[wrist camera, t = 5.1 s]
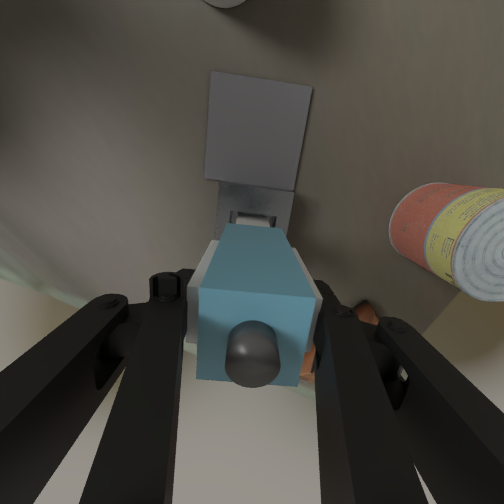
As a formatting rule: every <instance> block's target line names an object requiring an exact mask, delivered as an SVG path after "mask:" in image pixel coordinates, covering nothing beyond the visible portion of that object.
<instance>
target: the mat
mask: <svg viewBox="0 0 504 504" xmlns="http://www.w3.org/2000/svg"><path fill="white" fill-rule="evenodd" d="M312 88H313V87H311V86H305V85H298V84H292V83H286V82H280V81H273V80H267V79H261V78H254V77H248V76H242V75H236V74H229V73H223V72H217V71H211V74H210V89H209V105H208V120H207V136H206V151H205V166H204V178H206V179H213V180H220V181H228V182H235V183H242V184H250V185H257V186H264V187H272V188H279V189H286V190H294V185H295V180H296V175H297V169H298V164H299V158H300V153H301V147H302V142H303V137H304V131H305V126H306V120H307V115H308V109H309V104H310V98H311V93H312Z"/></svg>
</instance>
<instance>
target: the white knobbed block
mask: <svg viewBox="0 0 504 504" xmlns="http://www.w3.org/2000/svg"><path fill="white" fill-rule="evenodd" d="M236 224H242V225H253V226H263V227H270V225H269V222H268V219H267V217H261V216H253V215H246V214H238V216H237V220H236Z"/></svg>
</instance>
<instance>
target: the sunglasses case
mask: <svg viewBox="0 0 504 504" xmlns="http://www.w3.org/2000/svg"><path fill="white" fill-rule="evenodd" d="M352 310H353V311H355V312H356V314H357V315H358V317H359V320H360V321H363V322H367V323H371V324H374V325H377V324H378V321H379V319H380V318H379V316H378V315H377V314H376V313H375V312H374V310H373V309H372V307H371V306H370V304H369V303H368V301H367V300H365V301H362V302H361V303H359V304H358V305H357V306H356V307H354V308H353V309H352ZM315 351H316V348H315V345H314V342H313V345H312V349H311V352H305V354H304V358H303V363H302V368H301V372H300V377H299V378H300V379H304V380H307V381H308V382H309V383H310V382H315V375H314V372H313V373H311V368H312V364H313V360H314V355H315Z"/></svg>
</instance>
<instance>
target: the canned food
mask: <svg viewBox="0 0 504 504" xmlns="http://www.w3.org/2000/svg"><path fill="white" fill-rule="evenodd" d="M389 238H390V242H391V244H392V246H393V248H394V249H395V250H396V251H397V252H398V253H399V254H400V255H402V256H403V257H405V258H408V259H410V260H411V261H413V262H415V263H417V264H418V265H420V266H422V267H423V268H425V269H427V270H428V271H430V272H432V273H434V274H435V275H437V276H439V277H440V278H442V279H444V280H445V281H447V282H449V283H451V284H452V285H454V286H456V287H457V288H459V289H461V290H462V291H463V292H465V293H466V294H467V295H469V296H471V297H473V298H475V299H478V300H481V301H486V302H502V301H504V189H499V188H488V187H477V186H466V185H456V184H449V183H442V182H435V183H429V184H425V185H422V186H420V187H418V188H416V189H414V190H412V191H411V192H410V193H408V194H407V195H406V196H405V197H404V198H403V199H402V200H401V201H400V202H399V203H398V205H397V206H396V208H395V209H394V211H393V213H392V216H391V218H390V222H389Z"/></svg>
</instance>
